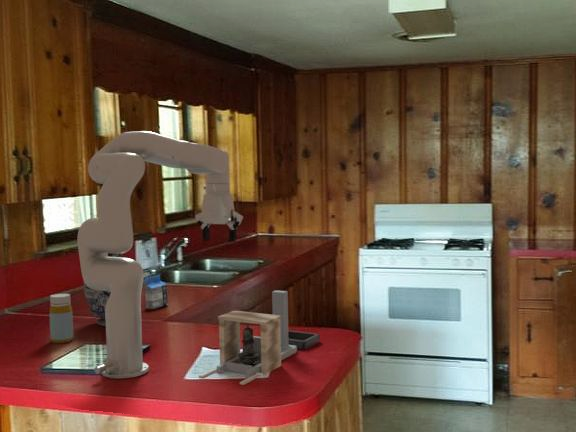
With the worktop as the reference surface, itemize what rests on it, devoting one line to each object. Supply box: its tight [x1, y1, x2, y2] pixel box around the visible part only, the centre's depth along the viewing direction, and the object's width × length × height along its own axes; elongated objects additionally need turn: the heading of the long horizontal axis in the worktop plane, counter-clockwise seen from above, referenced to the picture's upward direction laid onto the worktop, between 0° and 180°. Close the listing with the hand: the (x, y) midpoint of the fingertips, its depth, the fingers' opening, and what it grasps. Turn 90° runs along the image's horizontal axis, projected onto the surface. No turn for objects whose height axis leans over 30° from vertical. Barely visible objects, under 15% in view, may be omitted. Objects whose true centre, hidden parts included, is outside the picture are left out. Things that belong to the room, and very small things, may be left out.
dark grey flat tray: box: [288, 329, 321, 350], centre depth 214 cm, size 10×12×2 cm
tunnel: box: [217, 310, 282, 375], centre depth 191 cm, size 8×16×14 cm, turn 61°
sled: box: [216, 289, 298, 378], centre depth 195 cm, size 28×10×18 cm, turn 151°
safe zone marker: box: [198, 366, 263, 386], centre depth 183 cm, size 9×14×1 cm, turn 61°
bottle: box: [48, 293, 74, 344], centre depth 221 cm, size 7×7×15 cm
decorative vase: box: [83, 253, 124, 327], centre depth 245 cm, size 21×19×28 cm
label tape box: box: [144, 274, 169, 310], centre depth 271 cm, size 9×4×12 cm, turn 148°
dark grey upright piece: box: [238, 324, 259, 367], centre depth 190 cm, size 6×6×12 cm
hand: (219, 241), depth 223 cm, fingers open, 9 cm apart
